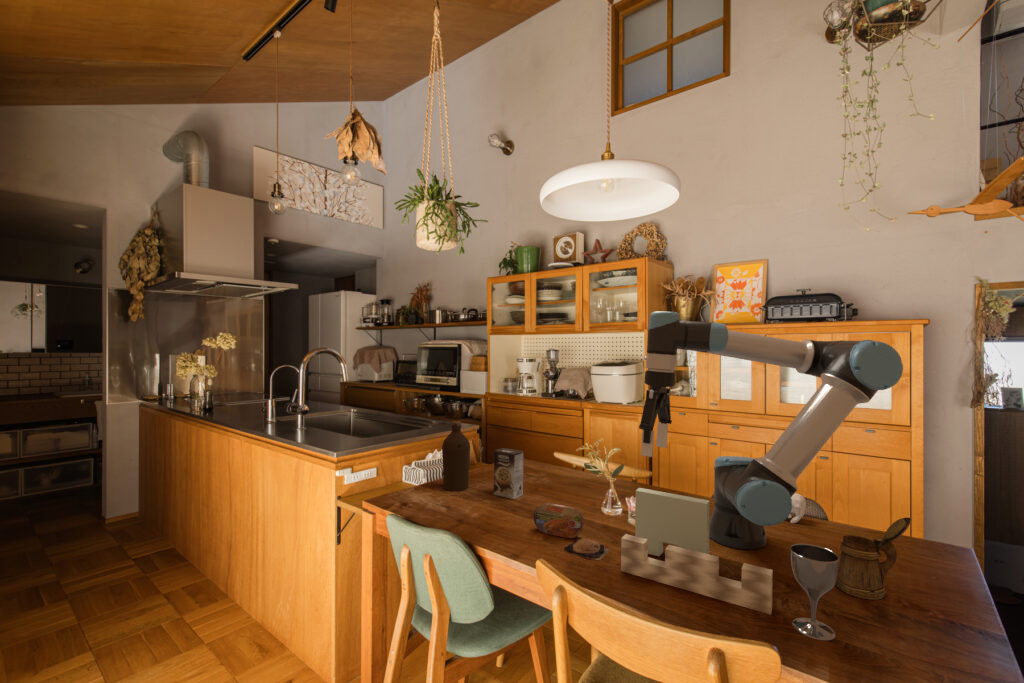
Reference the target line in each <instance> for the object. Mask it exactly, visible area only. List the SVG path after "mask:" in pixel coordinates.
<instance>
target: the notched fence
mask: <svg viewBox="0 0 1024 683" xmlns="http://www.w3.org/2000/svg"><path fill="white" fill-rule="evenodd" d="M620 543H621V544H620V545H621V546H620V547H621V548H620V549H621V550H620V551H621V552H620V556H621V557H620V560H621V562H620V568H621V569H620V571H621V572H623V573H627V574H630V575H633V576H637V577H641V578H644V579H646V580H647V579H648V580H651V581H655V582H658V583H661V584H665V585H668V586H671V587H675V588H679V589H682V590H685V591H689V592H692V593H696V594H697V595H698V594H699V595H702V596H706V597H709V598H713V599H715V600H719V601H723V602H726V603H729V604H733V605H737V606H740V607H744V608H747V609H751V610H754V611H757V612H760V613H764V614H767V615H772V613H773V612H772V610H773V585H774V584H773V579H774V578H773V576H774V575H773V573H774V572H773V569H769V568H766V567H762V566H757V565H754V564H750V563H746V562H743V564H742V566H741V581H740V580H739V581H738V580H735V579H731V578H727V577H724V576H720V575H719V574H720V573H719V572H720V571H719V570H720V557H719V556H718V555H715V554H714V555H713V554H710V553H709V554H706V553H701V552H697V551H693V550H689V549H685V548H681V547H680V546H677V545H673V544H668V545H666V547H665V549H664V557H665V558H664V560H661V559H657V558H656V559H655V558H652V557H650V556H648V555H649V554H648V539H644V538H640V537H636V536H635V535H632V534H628V533H625V534H624V535H623V536H622V537H621V542H620Z"/></svg>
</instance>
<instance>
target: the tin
mask: <svg viewBox="0 0 1024 683" xmlns="http://www.w3.org/2000/svg"><path fill="white" fill-rule="evenodd" d="M533 523H534V525H535V527H536V528H537V529H538V531H540V532H541V533H543V534H546V535H550V536H556V537H561V538H565V539H566V538H567V539H575V538H577V537H578V536H579V535H580V534H581V533H582V532H583V530H584V528H585V526H584V525H585V519H584V516H583V514H582V513H581V511H580V510H579V509H578V508H576V507H573V506H568V505H563V504H556V503H550V502H546V503H543V504H540V505H538V506H537V507H536V508H535V510H534V512H533Z"/></svg>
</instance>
